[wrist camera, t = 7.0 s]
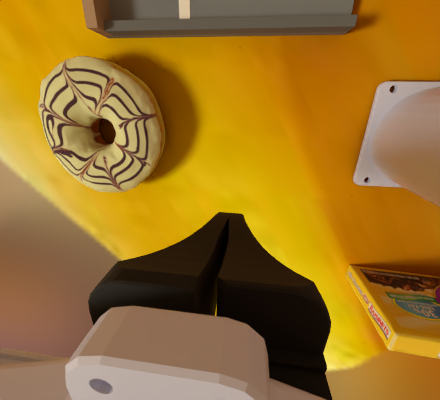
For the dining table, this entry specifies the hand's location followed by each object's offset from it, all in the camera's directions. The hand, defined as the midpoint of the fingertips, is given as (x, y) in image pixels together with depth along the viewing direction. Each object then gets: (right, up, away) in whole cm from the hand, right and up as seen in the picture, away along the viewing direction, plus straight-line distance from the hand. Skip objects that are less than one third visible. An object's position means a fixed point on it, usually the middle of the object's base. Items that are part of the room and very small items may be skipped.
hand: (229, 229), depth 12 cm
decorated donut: (-10, +8, +9) cm, 16 cm away
